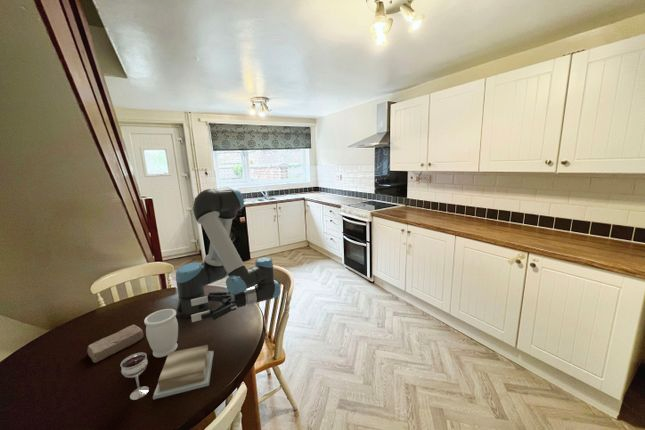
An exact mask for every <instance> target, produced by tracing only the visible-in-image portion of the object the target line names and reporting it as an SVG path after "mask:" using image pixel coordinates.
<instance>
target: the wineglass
mask: <svg viewBox="0 0 645 430" xmlns="http://www.w3.org/2000/svg"><path fill="white" fill-rule="evenodd" d="M148 364H149V361H148V357H147V353H146V352H142V351H141V352H137V353H133V354H130V355H129V356H126V357H125V358H124V359H123V360H122V361H121V363H120V367H121V371H120V373H121V374H122V375H123V377H125V378H129V379H130V378H131V379H133V378H135V382H136V387H137V388H136V389H134V390H133V391H132V392H131V393H130V395H129V398H130V400H133V401H135V400H138V399H141V398H143V397H145V396H146V395H147V394H148V392H149V390H150V388H149V386H146V385H145V386H140V380H139V376H140V375H142V374H143V373H144V372H145V370H146V368H147V366H148Z"/></svg>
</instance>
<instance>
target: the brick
mask: <svg viewBox="0 0 645 430" xmlns="http://www.w3.org/2000/svg"><path fill="white" fill-rule="evenodd" d="M143 338H144V331H143V329H142V328H141V327H139V326H137V325H136V324H131V325H130V326H127V327H124V328H123V329H121V330H119V331H117V332H115V333H113V334H110V335H108V336H106V337H103V338H101V339H99V340H97V341H94V342H93V343H90V344H89V345H88V346H87V354H88V357H89V358H90V359H91V361H92V363H98V362H100V361H103V360H104V359H106V358H108V357H109V356H112V355H113V354H116V353H117V352H119V351H121V350H124V349H125V348H128V347H130V346H132V345H135V344H136V343H138V342H139V341H142V339H143Z"/></svg>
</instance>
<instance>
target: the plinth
mask: <svg viewBox="0 0 645 430" xmlns="http://www.w3.org/2000/svg"><path fill="white" fill-rule="evenodd" d="M209 351H210V350H209V345H208V344H205V345H200V346H194V347H190V348H185V349H179V350H175V351H174V352H170V353H169V354H168V355H167V356H166V360H165V362H164V364H163V367H162V370H161V372H160V375H159V378H158V380H157V382H158V383H159V390H160V391H164V390H168V389H172V388H176V387H180V386H184V385H188V384H192V383H197V382H201V381H204V379H205V374H206V368H207V362H208V356H209ZM158 383H157V384H158Z"/></svg>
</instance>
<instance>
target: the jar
mask: <svg viewBox="0 0 645 430" xmlns="http://www.w3.org/2000/svg"><path fill="white" fill-rule="evenodd" d="M176 316H177V313H176V309H173V308H164V309H160V310H157V311H154V312H152V313H150V314H148V315H147V316H146V317H145V318H144V321H143V322H144V325H145V326H146V327H145V335H146V339H147V342H148V344H149V347H150V349H151V350H152V355H153V357H154V358H163V357H168V354H169V353H170V352H175V351H177V348H178V346H179V345H178V343H177V342H178V337H179V323H178V319H177V317H176Z"/></svg>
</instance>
